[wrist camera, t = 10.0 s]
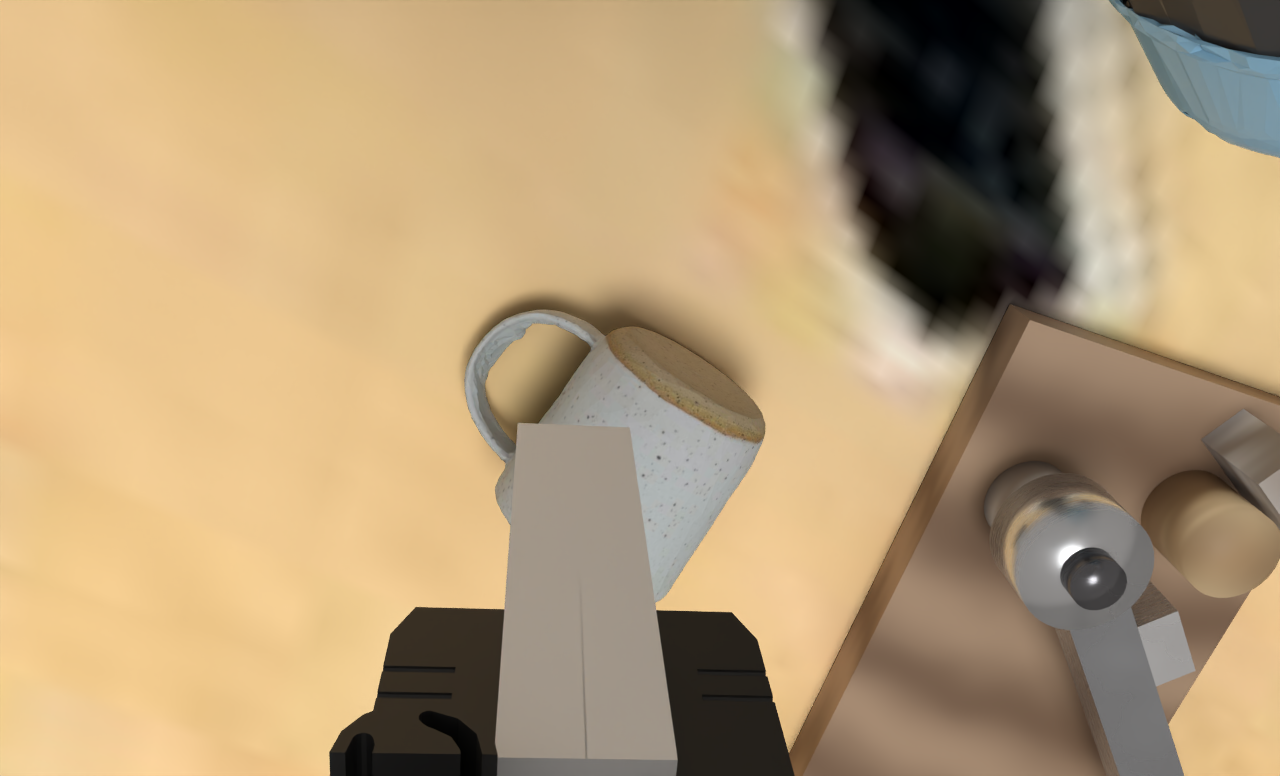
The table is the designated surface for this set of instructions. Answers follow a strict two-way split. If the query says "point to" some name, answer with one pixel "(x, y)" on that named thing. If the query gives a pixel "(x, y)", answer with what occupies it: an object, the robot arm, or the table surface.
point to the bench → (981, 595)
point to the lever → (1098, 612)
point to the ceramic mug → (640, 427)
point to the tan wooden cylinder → (1211, 533)
